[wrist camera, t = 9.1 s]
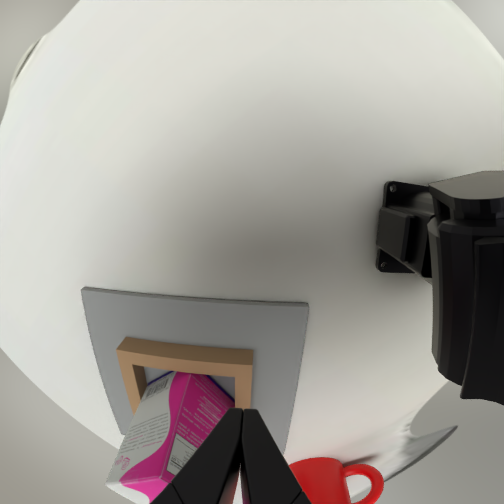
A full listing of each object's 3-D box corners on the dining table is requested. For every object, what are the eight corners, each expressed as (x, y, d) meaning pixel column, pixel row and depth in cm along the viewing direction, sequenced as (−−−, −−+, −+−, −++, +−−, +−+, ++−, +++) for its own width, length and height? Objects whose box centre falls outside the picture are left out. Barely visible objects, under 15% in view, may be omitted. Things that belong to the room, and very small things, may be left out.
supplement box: (191, 421, 23) (165, 521, 12) (147, 381, 22) (98, 482, 11) (239, 401, 22) (228, 516, 11) (194, 356, 21) (154, 476, 10)
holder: (307, 303, 21) (313, 320, 18) (283, 450, 25) (284, 468, 23) (84, 287, 21) (67, 298, 18) (123, 430, 25) (115, 446, 23)
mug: (377, 465, 27) (391, 510, 19) (289, 490, 28) (292, 536, 20) (371, 437, 25) (389, 491, 17) (270, 467, 26) (270, 521, 19)
